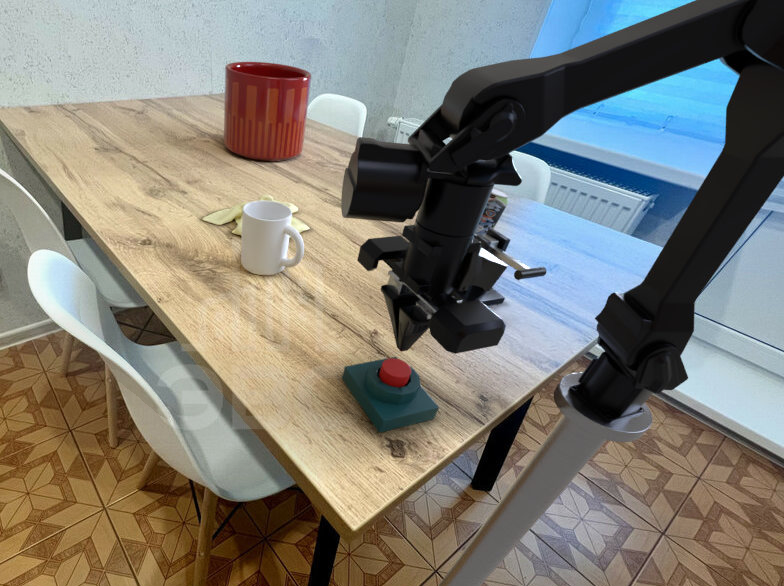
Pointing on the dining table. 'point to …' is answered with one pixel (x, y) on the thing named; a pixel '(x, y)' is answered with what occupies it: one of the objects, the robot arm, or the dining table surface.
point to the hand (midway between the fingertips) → (402, 349)
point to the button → (395, 372)
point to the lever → (514, 262)
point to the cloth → (237, 214)
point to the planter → (265, 110)
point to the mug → (268, 238)
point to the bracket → (479, 292)
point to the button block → (389, 397)
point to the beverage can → (492, 211)
